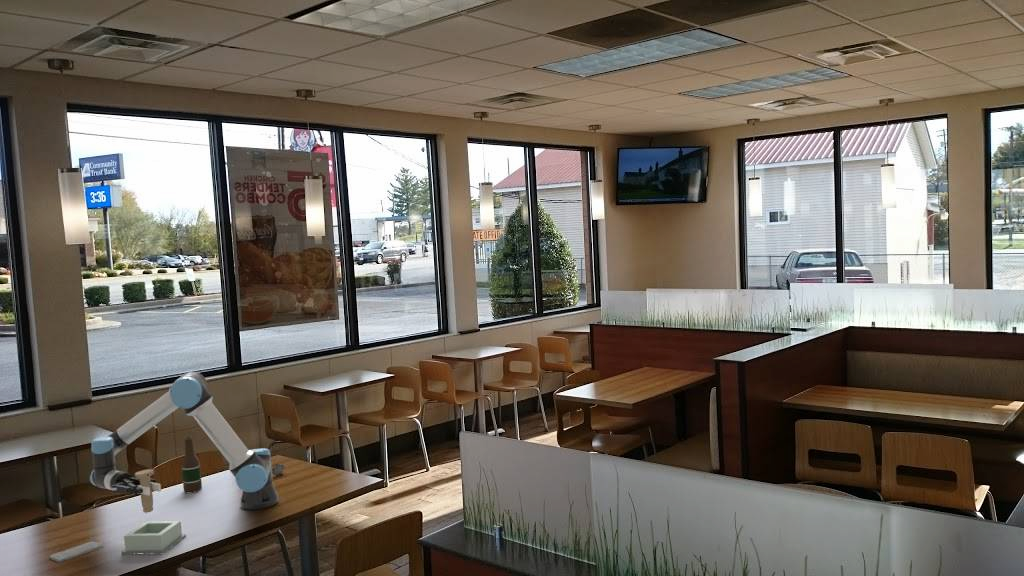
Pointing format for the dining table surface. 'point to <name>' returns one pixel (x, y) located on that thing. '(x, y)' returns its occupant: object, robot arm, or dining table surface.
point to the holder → (153, 537)
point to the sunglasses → (277, 469)
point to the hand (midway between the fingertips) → (154, 489)
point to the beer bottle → (191, 468)
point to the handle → (145, 481)
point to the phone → (75, 551)
